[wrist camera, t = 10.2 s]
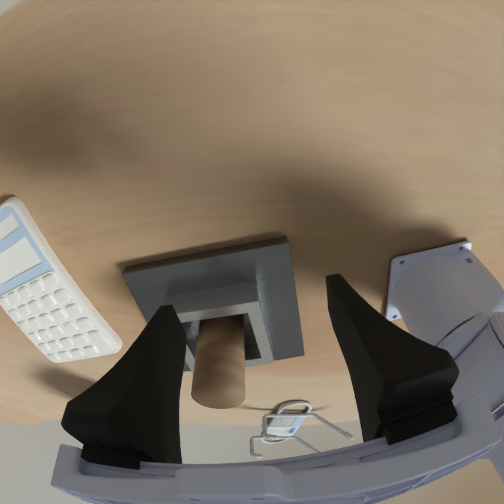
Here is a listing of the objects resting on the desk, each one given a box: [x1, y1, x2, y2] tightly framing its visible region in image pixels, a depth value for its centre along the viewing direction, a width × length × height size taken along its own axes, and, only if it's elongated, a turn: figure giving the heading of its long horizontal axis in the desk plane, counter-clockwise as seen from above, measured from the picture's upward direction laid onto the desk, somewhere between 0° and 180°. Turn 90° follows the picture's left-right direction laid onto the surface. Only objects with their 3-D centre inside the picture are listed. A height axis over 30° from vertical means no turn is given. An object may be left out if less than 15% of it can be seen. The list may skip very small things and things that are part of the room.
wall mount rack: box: [250, 401, 354, 459], centre depth 40 cm, size 16×14×6 cm
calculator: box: [0, 197, 122, 363], centre depth 26 cm, size 13×20×2 cm, turn 20°
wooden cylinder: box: [191, 314, 245, 409], centre depth 24 cm, size 4×4×8 cm
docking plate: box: [122, 236, 304, 373], centre depth 27 cm, size 14×14×4 cm
